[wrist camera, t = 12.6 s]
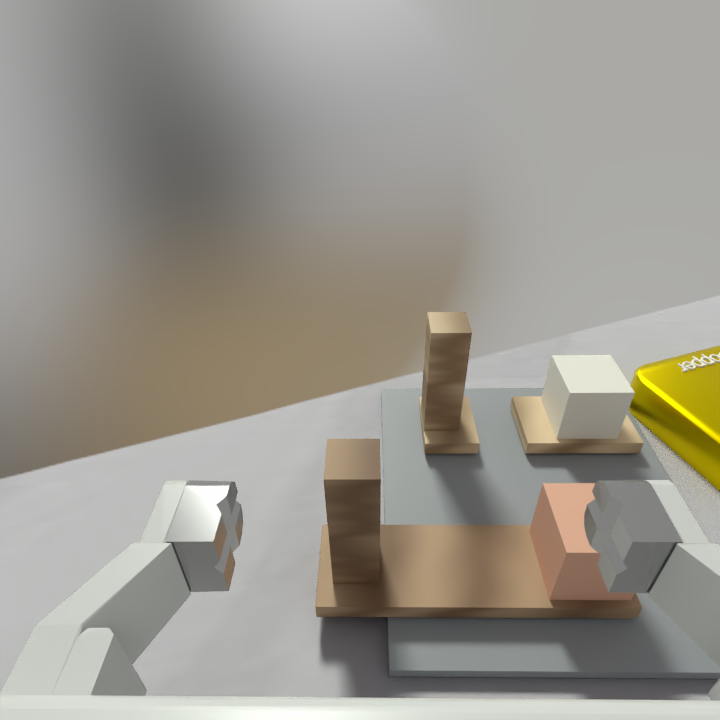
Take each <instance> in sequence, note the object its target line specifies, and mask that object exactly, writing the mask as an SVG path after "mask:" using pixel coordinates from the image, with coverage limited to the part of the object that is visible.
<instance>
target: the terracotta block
mask: <svg viewBox="0 0 720 720" xmlns="http://www.w3.org/2000/svg"><path fill="white" fill-rule="evenodd" d="M594 485H595V483H543V484H542V488H541V491H540V495H539V498H538V502H537V505H536V509H535V512H534V516H533V519H532V523H531V527H530V530H529V532H530V535H531V539H532V542H533V546H534V549H535V553H536V556H537V559H538V563H539V566H540V570H541V573H542V577H543V580H544V584H545V587H546V590H547V594H548V597H549V600H631V599H632V597H633V595H634V593H617V592H608V590H607V587H606V585H605V582H604V580H603V577H602V575H601V572H600V570H599V567H598V565H597V564H598V561H599V558H600V556H601V555H600V554H599V553H598V552H597V551H595V550H594V549H593V548H592V547H591V546H590V544H589V542H588V539H587V536H586V532H585V527H584V513H585V510H586V507H587V504H588V503H590V502H591V501H593V500H594V499H595V497H594V495H593V492H592V490H593V488H594Z"/></svg>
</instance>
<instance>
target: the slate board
mask: <svg viewBox="0 0 720 720" xmlns="http://www.w3.org/2000/svg"><path fill="white" fill-rule="evenodd" d="M543 389H544V388H486V389H464V396H463V397H469V401H470V405H471V409H472V414H473V418H474V422H475V426H476V430H477V435H478V439H479V443H480V444H479V450H478V453H476V454H425V453H424V445H423V436H422V428H421V419H420V410H419V400H420V397H422V389H381V407H382V443H383V478H384V513H385V525H531V523H532V519H533V516H534V512H535V509H536V505H537V502H538V498H539V495H540V491H541V488H542V484H543V483H597V482H598V481H599V480H669V481H671V482H672V480H671V479H670V477H669V475H668V474H667V472H666V470H665V469H664V467H663V466H662V464H661V462H660V461H659V459H658V457H657V456H656V454H655V452H654V451H653V449H652V447H651V446H650V444H649V442H648V441H647V439H646V437H645V436H644V434H643V432H642V431H641V429H640V427H639V426H638V424H637V422H636V421H635V419H634V418H633V416H632V414H631V413H630V411H629V409H628V412H627V415H628V417H629V419H630V420H631V422H632V424H633V425H634V427H635V429H636V430H637V432H638V434H639V436H640V437H641V439H642V441H643V442H644V444H643V446H642V449H641V451H640V453H525V450H524V447H523V444H522V441H521V438H520V435H519V432H518V429H517V426H516V423H515V420H514V417H513V414H512V411H511V408H510V404H511V399H512V396H542V393H543ZM672 483H673V482H672ZM648 594H649V593H636V595H637V597H638V599H639V602H640V604H641V606H642V610H641V612H640V613H639V615H638V617H637V618H469V617H387V619H388V654H389V676H407V677H537V678H667V679H719V678H720V668H719V667H718V666H717V665H716V664H715V663H714V662H713V661H712V660H711V659H710V658H709V657H708V656H707V655H706V654H705V653H704V652H703V651H702V650H701V649H700V648H699V647H698V645H697V644H696V643H695V642H694V641H693V640H692V639H691V638H690V637H689V636H688V635H687V634H686V633H685V632H684V631H683V630H682V629H681V628H680V627H679V626H678V625H677V624H676V623H675V622H674V621H673V620H672V619H671V618H670V617H669V616H668V615H667V614H666V613H665V612H664V611H663V610H662V609H661V608H660V607H659V606H658V605H657V604H656V603H655V602H654V601H653V600H652V599H651V598H650V597H649V596H648Z"/></svg>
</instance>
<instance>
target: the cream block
mask: <svg viewBox="0 0 720 720" xmlns="http://www.w3.org/2000/svg"><path fill="white" fill-rule="evenodd" d="M634 393H635V392H634V391H633V389H632V388H631V386H630V384H629V383H628V381H627V380H626V378H625V377H624V375H623V374H622V372H621V370H620V369H619V367H618V366H617V364H616V363H615V361H614V360H613V358H612V356H611V355H552V356H551V360H550V364H549V368H548V372H547V377H546V381H545V385H544V389H543V393H542V397H541V402H542V404H543V407H544V409H545V412H546V414H547V416H548V419H549V421H550V424H551V426H552V429H553V431H554V434H555V436H556V438H557V439H617V438H618V435H619V433H620V430H621V427H622V425H623V422H624V419H625V417H626V414H627V412H628V409H629V406H630V404H631V401H632V399H633V396H634Z"/></svg>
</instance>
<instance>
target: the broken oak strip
mask: <svg viewBox="0 0 720 720" xmlns="http://www.w3.org/2000/svg"><path fill="white" fill-rule="evenodd" d="M471 334H472V332H471V329H470V325H469V322H468V318H467V315H466V312H428V313H427V327H426V343H425V357H424V371H423V386H422V397H420V400H419V410H420V419H421V428H422V436H423V445H424V453H425V454H476V453H478V450H479V444H480V443H479V439H478V435H477V430H476V426H475V422H474V418H473V414H472V409H471V405H470V401H469V397H463V396H464V388H465V381H466V373H467V365H468V357H469V350H470V342H471ZM541 397H542V396H512V399H511V404H510V408H511V411H512V414H513V417H514V420H515V423H516V426H517V429H518V432H519V435H520V438H521V441H522V444H523V447H524V450H525V453H640V451H641V449H642V446H643V444H644V442H643V441H642V439H641V437H640V436H639V434H638V432H637V430H636V429H635V427H634V425H633V424H632V422H631V420H630V419H629V417H628V415H627V414H626V417H625V419H624V422H623V425H622V427H621V430H620V433H619V435H618V438H617V439H557V438H556V436H555V434H554V431H553V429H552V426H551V424H550V421H549V419H548V416H547V414H546V412H545V409H544V407H543V404H542V402H541Z"/></svg>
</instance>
